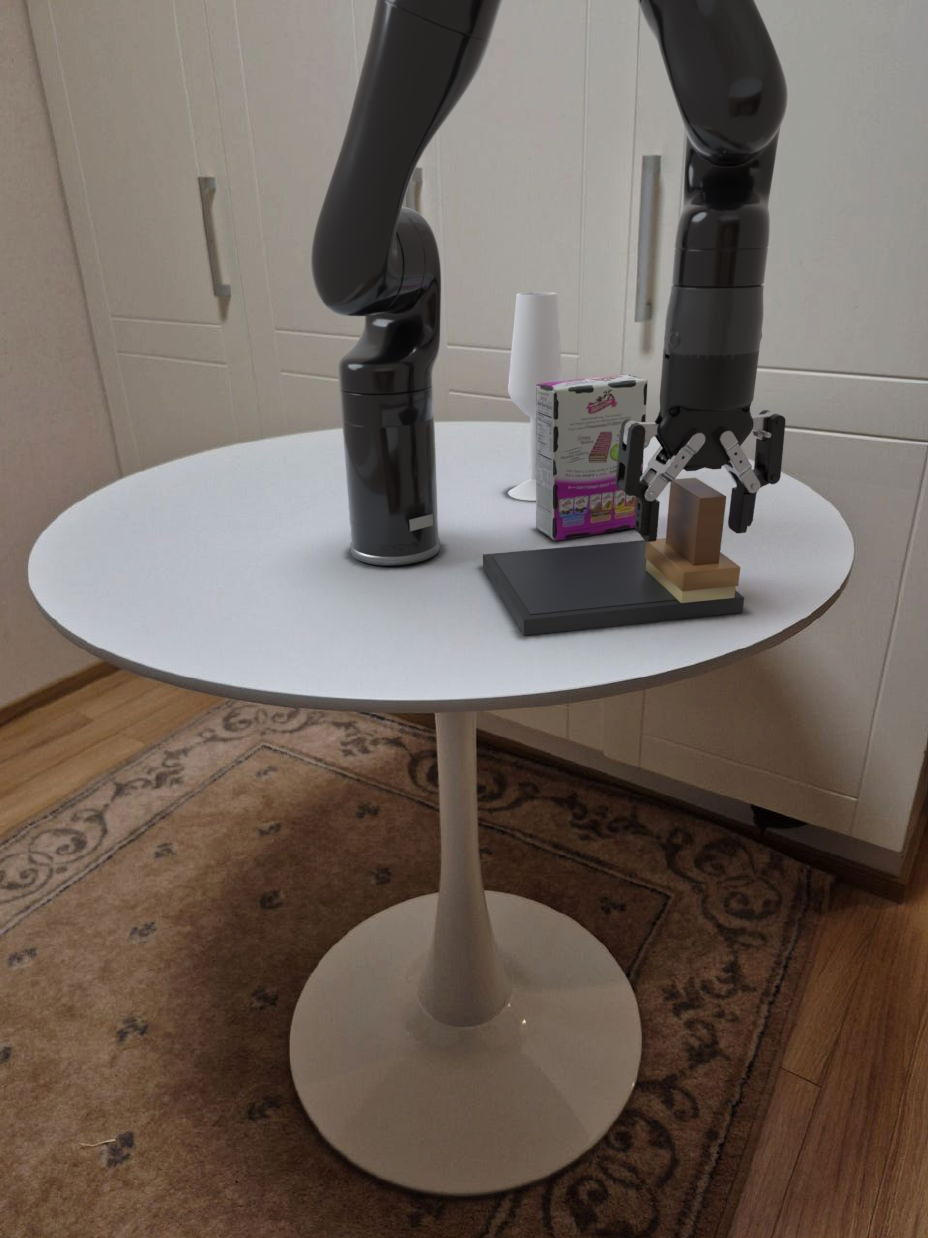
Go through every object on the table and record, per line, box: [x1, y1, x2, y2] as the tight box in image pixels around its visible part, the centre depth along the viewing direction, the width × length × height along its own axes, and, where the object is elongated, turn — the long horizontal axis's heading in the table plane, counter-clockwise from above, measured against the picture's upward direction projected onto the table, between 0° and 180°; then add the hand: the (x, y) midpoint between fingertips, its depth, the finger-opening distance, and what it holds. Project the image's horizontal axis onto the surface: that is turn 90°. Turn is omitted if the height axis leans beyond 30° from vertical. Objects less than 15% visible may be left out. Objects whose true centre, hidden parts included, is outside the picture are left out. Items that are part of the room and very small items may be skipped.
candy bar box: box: [535, 374, 649, 542], centre depth 94 cm, size 11×5×16 cm, turn 112°
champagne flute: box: [507, 291, 564, 502], centre depth 105 cm, size 7×7×24 cm
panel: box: [482, 539, 745, 637], centre depth 81 cm, size 16×20×2 cm
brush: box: [645, 477, 741, 603], centre depth 76 cm, size 8×5×9 cm, turn 11°
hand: (692, 534), depth 76 cm, fingers open, 8 cm apart
